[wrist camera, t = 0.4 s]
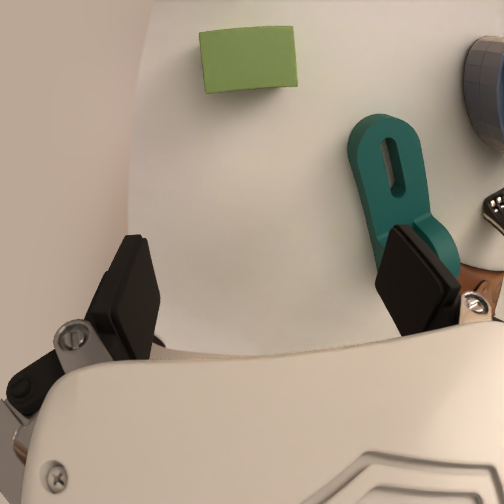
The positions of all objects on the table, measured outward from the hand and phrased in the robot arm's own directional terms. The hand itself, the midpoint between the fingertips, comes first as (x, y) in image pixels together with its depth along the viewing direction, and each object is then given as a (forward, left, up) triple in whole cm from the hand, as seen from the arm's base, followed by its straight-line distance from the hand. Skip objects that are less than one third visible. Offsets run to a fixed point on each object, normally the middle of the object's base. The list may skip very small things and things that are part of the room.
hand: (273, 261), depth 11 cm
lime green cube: (-8, +1, -16) cm, 18 cm away
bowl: (-8, +30, -16) cm, 34 cm away
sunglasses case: (+21, +33, -16) cm, 42 cm away
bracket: (+6, +14, -16) cm, 22 cm away
